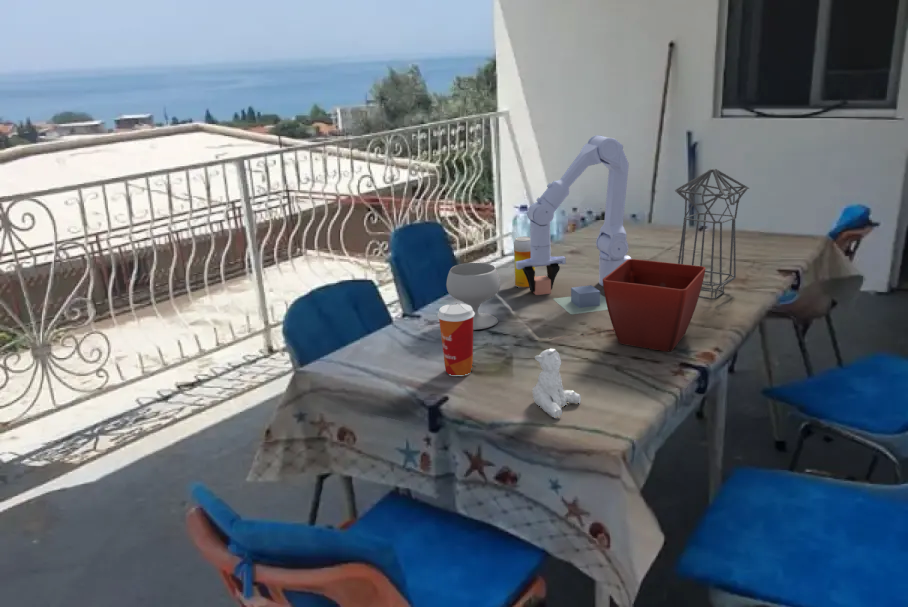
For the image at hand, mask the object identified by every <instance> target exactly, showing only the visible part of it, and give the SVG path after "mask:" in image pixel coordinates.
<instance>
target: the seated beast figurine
mask: <svg viewBox="0 0 908 607" xmlns="http://www.w3.org/2000/svg"><path fill="white" fill-rule="evenodd" d="M534 360H535V361H537V362H538V363H539V366H540V368H541V369H542V371H540V373H539V374H538V378H537V383H536V384H535V385H534V386H533V387H532V390H531V392H532V399H533V401H534V403H535V404H536V405H538V407H539V406H540V407H539V408H540V409H541V408H542V409H543V410H542V409H541V410H542V411H544V412H545V413H546V412H547V413H546V414H547V415H549V414H550V415H551V416H552V417H554V418H553V419H556V418H555V417H556V416H560V415H561V416H562V414H563V409H562V407H561V406H565V405H567V403H566V402H569V403H579V404H578V405H581V399H582V395H581V394H579V393H577V392H575V391H574V390H573V389H572V390H570V389H566V390H565V389H564V386H563V381H562V375H561V373H560V370H561V364H562V360H561V357H560V353H559V352H558V351H557V350H556V348H549V349H545V350H542V351H541V352H540V354H539V355H538V354H537V355H535V356H534ZM567 406H568V405H567ZM550 415H549V416H550ZM551 416H550V417H551ZM561 416H560V417H561ZM552 417H551V418H552Z"/></svg>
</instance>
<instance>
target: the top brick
mask: <svg viewBox="0 0 908 607" xmlns="http://www.w3.org/2000/svg"><path fill="white" fill-rule="evenodd" d="M534 288H535V290H534V292H532V293H533V294H534V295H535V296H540V295H542V296H543V295H548V294H549V295H550V294H552V290H551V279H549V278H548V277H547V275H539V276H535V277H534Z"/></svg>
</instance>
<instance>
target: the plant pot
mask: <svg viewBox="0 0 908 607" xmlns="http://www.w3.org/2000/svg"><path fill="white" fill-rule="evenodd" d="M705 270H707V268H706V267H705V266H703V265H702V266H700V265H695V264H694V265H692V264H684V263H683V264H681V263H680V264H678V263H673V262H665V261H664V262H663V261H656V260H647V259H646V260H645V259H634V258H631V259H628V260H626V261H625V262H624V263H623V264H621V265H620V266H619V267H618V268H616V269H615V270H614V271H613V272H611V273H610V274H609V275H607V276H606V277H605V278H603V286H602V287H603V293H604V297H605V299H606V303H607V308H608V310H607V313H608V315H609V317H610V318H609V319H610V321H611V326H612V328H613V331H614V334H615V336H616V339H617V341H618V343H619V344H621V345H625V346H630V347H637V348H643V349H648V348H649V349H648V350H655V351H661V352H672V351H674V349H675V348H676V346H677V345H678V344H679V343H680V341H681V340H682V339H683V338H684V336H685V335H686V332H687V330H688V329H689V325H690V323H691V320H692V318H693V315H694V314H695V313H694V312H695V310H696V307H697V304H698V300H699V298H700V297H699V296H701V295H700V294H701V291H702V290H701V289H702V288H701V287H703V285H702V283H704V282H703V281H704V279H705V275H706V272H705Z"/></svg>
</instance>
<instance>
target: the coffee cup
mask: <svg viewBox="0 0 908 607" xmlns="http://www.w3.org/2000/svg"><path fill="white" fill-rule="evenodd" d="M474 315H475V313H474V311H473V309H472V307H471V306H470V305H467V304H466V303H459V304H457V303H452V304H445V305H443V306H441V307H440V308H439V310H438V313H437V315H436V317H437V318H438V320H439V329H440V338H441V344H442V352H443V353H442V354H443V362H444V367H445V373H446V372H447V373H448V374H451V375H465V374H468V373H470V372H471V368H472V369H473V366H472V364H473V358H474V356H473V355H474V352H473V351H474V330H473V317H474ZM447 373H446V374H447Z"/></svg>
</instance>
